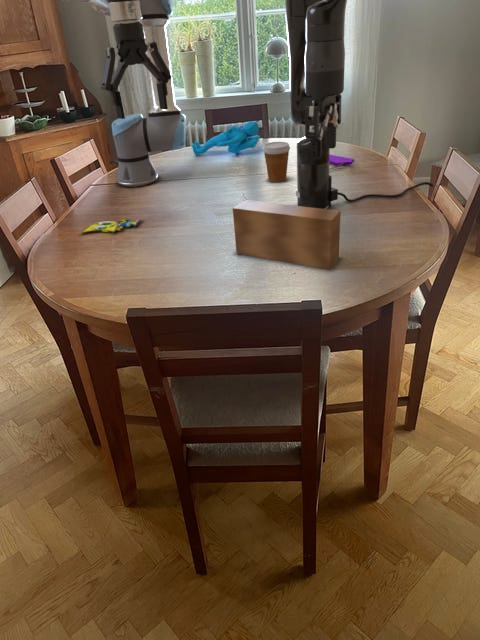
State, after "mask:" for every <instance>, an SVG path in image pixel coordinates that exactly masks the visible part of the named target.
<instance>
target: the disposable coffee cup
mask: <svg viewBox="0 0 480 640" xmlns="http://www.w3.org/2000/svg"><path fill="white" fill-rule="evenodd" d="M290 149H291V146H290V144H289V142H286V141H272V142H266V143H265V144H263V148H262V151H263V153H264V159H265V165H266V171H267V178H268V182H272V183H273V182H274V183H278V182H279V183H280V182H283V181H286V180H287V174H288V165H289V155H290V154H289V153H290Z"/></svg>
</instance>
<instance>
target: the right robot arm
mask: <svg viewBox="0 0 480 640" xmlns="http://www.w3.org/2000/svg"><path fill="white" fill-rule="evenodd" d="M284 3H285V5H284V7H285V22H286V23H285V24H286V34H287V35H286V36H287V45H288V57H289V59H288V60H289V91H290V92H289V100H290V101H289V102H290V103H289V104H290V105H289V107H290V109H289V110H290V117H291V121H292V123H293V124H294V125H296V126H304V137H301V138H299V139H298V140H297V142H296V174H297V175H296V178H297V179H296V182H297V183H296V184H297V186H296V188H297V189H296V190H295V196H296V197H297V201H296V202H297V205H296V206H302V207H311V208H320V209H330V208H332V202H334V201H337V200H339V199H338V198H339V196H341V197H343V199H344V200H345V201H346V202H349V203H353V202H357V201H359V200H362V199H364V198H372V197H373V198H387V199H388V198H391V199H392V198H398V197H402V196H403V195H405V193H406V192H408V191H411V190H414V189H416V188H418V187H421V186H424V185H426V186H427V185H428V186H430V187H432V188H434V184H433V183H431V182H428V181H423V182H419V183H418V184H414V185H413V186H409V187H407V188H406V189H404V190H403V191H402V192H400V193H397V194H380V193H379V194H378V193H368V194H363V195H361V196H358V197H357V198H354V199H351V198H348V196H347V195H346V194H344V193H343V192H339V189H338V188H334V187H332V184H333V183H332V181H333V178H332V175H331V174H330V170H329V169H330V163H329V155H331V154H330V151H331V149H332V150H333V149H336V147H337V130H338V129H339V125H340V124H341V123H342V94H343V92H344V90H345V67H346V66H345V63H346V48H345V23H346V9H347V3H348V0H284Z"/></svg>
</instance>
